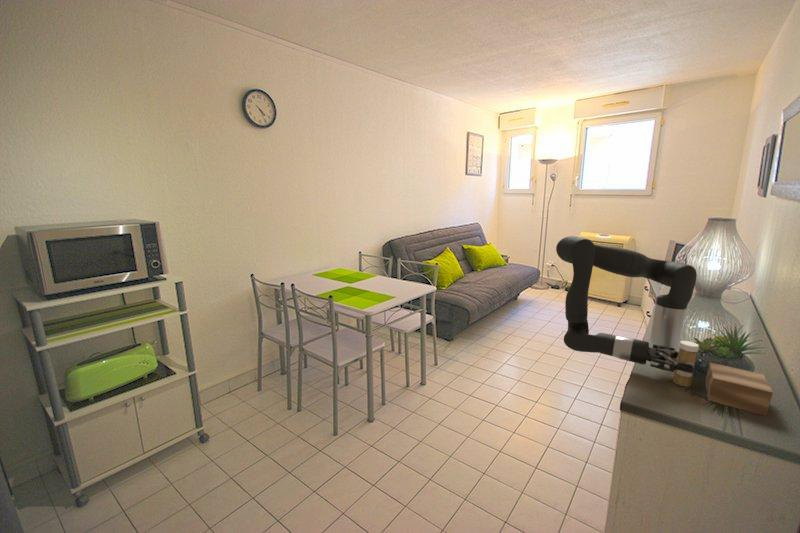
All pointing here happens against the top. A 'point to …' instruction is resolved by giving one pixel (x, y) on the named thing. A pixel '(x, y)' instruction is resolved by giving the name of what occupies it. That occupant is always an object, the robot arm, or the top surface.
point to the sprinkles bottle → (685, 362)
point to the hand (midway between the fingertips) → (692, 364)
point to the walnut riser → (738, 388)
